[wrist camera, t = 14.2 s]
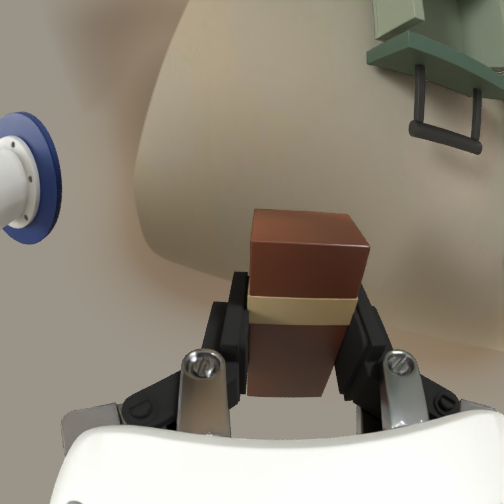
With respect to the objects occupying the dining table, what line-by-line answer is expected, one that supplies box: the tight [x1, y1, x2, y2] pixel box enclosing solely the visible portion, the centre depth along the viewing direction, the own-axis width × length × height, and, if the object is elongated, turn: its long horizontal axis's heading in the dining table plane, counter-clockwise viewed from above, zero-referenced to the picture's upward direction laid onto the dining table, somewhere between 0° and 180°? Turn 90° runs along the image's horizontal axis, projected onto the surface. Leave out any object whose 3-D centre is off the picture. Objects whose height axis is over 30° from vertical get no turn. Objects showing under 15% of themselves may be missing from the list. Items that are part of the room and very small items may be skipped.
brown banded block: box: [247, 209, 370, 397], centre depth 11 cm, size 4×8×3 cm, turn 178°
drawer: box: [367, 0, 504, 155], centre depth 11 cm, size 19×11×8 cm, turn 179°
